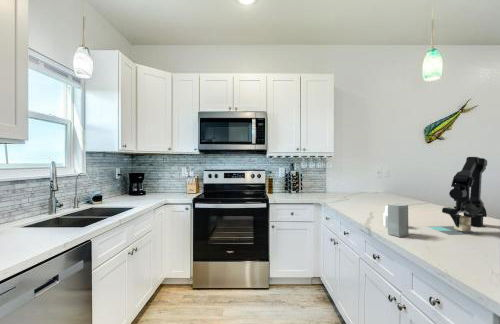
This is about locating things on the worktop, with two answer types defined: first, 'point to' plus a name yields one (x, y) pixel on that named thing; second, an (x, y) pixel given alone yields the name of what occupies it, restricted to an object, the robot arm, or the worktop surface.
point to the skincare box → (398, 220)
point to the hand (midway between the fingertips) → (462, 226)
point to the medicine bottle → (385, 217)
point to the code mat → (452, 230)
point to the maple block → (464, 224)
